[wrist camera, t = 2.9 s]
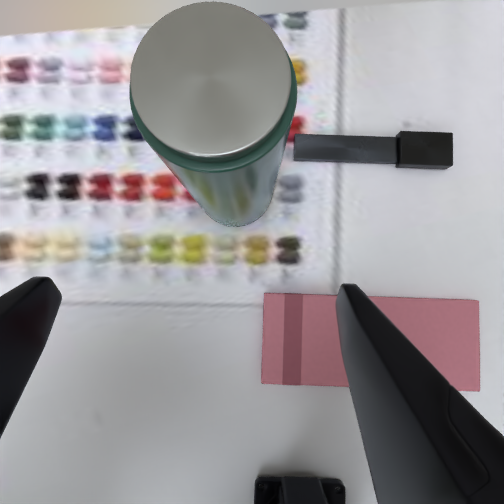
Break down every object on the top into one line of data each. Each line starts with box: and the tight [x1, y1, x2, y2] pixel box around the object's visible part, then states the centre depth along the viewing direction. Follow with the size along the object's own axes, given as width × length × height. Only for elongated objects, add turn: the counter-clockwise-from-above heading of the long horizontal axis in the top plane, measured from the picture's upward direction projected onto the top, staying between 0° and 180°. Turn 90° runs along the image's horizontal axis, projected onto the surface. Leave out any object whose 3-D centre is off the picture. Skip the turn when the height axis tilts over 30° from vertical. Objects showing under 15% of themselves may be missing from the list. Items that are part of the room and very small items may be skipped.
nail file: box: [294, 131, 453, 169], centre depth 22 cm, size 3×12×1 cm, turn 88°
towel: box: [261, 293, 480, 391], centre depth 21 cm, size 7×16×1 cm, turn 88°
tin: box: [130, 2, 297, 227], centre depth 15 cm, size 6×6×13 cm
